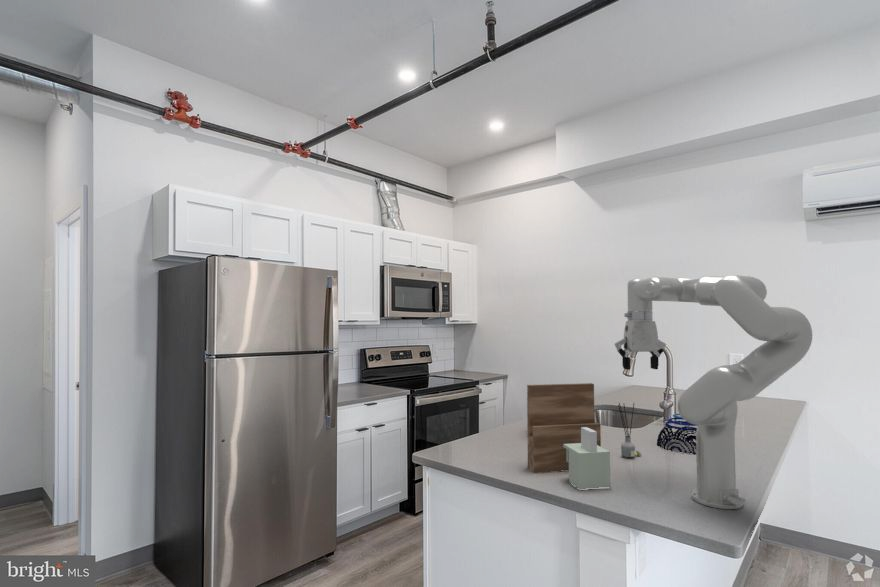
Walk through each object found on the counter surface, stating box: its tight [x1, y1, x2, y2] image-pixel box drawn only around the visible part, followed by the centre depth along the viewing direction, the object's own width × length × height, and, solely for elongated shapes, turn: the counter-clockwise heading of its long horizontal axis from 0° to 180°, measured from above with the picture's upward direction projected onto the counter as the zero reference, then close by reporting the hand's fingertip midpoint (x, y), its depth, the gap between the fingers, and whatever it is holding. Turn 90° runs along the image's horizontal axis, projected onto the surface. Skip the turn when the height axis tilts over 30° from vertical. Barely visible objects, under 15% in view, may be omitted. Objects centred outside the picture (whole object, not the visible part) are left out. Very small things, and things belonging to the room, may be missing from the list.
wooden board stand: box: [526, 382, 602, 474], centre depth 163 cm, size 6×24×28 cm, turn 101°
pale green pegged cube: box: [563, 427, 611, 489], centre depth 148 cm, size 10×10×17 cm
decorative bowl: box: [656, 409, 697, 455], centre depth 189 cm, size 20×20×14 cm
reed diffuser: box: [617, 402, 642, 458], centre depth 176 cm, size 10×7×20 cm
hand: (640, 369), depth 156 cm, fingers open, 9 cm apart
